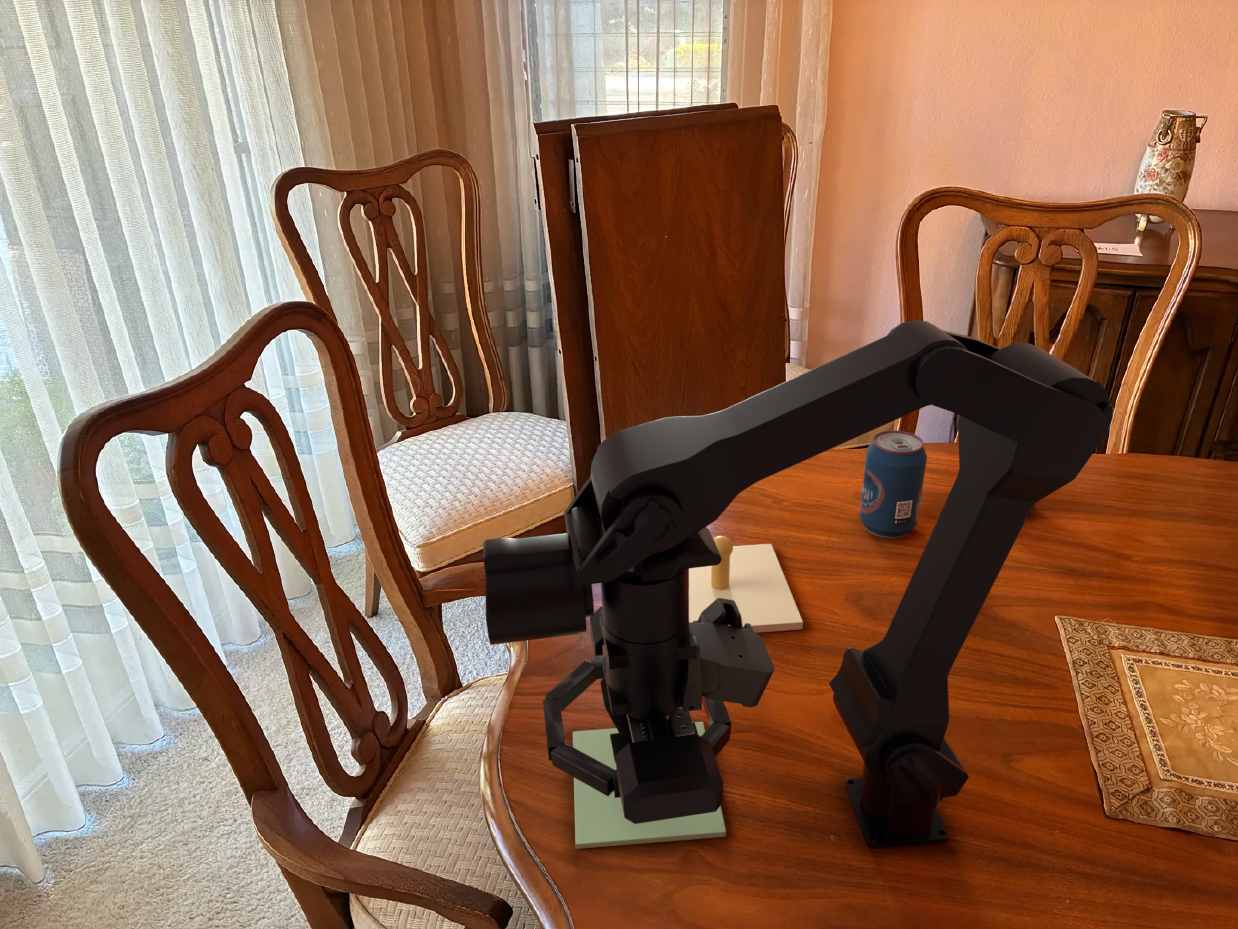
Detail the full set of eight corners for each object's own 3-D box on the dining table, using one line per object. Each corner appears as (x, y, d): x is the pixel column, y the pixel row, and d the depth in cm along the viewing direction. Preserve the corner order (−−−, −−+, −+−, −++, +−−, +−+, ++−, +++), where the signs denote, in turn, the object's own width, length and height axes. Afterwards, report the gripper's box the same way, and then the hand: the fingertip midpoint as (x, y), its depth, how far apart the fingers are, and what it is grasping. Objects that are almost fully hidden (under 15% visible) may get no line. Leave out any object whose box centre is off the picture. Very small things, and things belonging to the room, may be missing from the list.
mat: (726, 837, 68) (726, 832, 68) (575, 849, 68) (575, 844, 68) (703, 726, 79) (703, 721, 79) (573, 736, 78) (572, 731, 78)
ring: (747, 778, 64) (747, 765, 64) (553, 807, 63) (551, 793, 62) (702, 655, 77) (702, 643, 77) (540, 676, 76) (539, 664, 75)
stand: (802, 629, 90) (807, 572, 87) (661, 639, 90) (660, 583, 86) (770, 550, 104) (773, 498, 100) (647, 558, 103) (646, 506, 100)
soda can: (849, 515, 110) (858, 431, 104) (900, 508, 111) (912, 425, 105) (872, 544, 104) (883, 457, 98) (926, 537, 105) (940, 450, 99)
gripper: (811, 699, 49) (795, 876, 57) (728, 528, 66) (724, 683, 73) (620, 725, 48) (629, 903, 56) (584, 544, 64) (595, 700, 72)
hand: (651, 782), depth 64 cm, fingers closed on ring, 1 cm apart
